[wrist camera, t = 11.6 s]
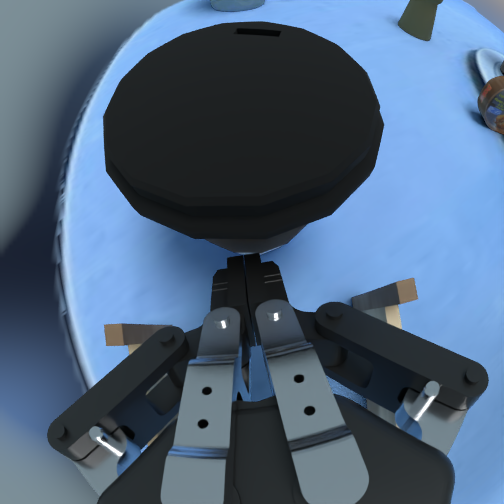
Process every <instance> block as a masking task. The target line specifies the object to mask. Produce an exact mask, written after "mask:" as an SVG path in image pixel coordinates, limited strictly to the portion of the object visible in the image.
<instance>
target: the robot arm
mask: <svg viewBox="0 0 504 504" xmlns="http://www.w3.org/2000/svg"><path fill="white" fill-rule="evenodd" d="M244 261H245V263H244ZM212 285H213V286H212V296H211V310H210V313H208V314H207V315H206V317H205V318H204V322H203V325H202V326H200V327H199V328H197V329H194V330H191V331H189V332H186V333H184V332H183V330H182V329H180V328H179V327H175V326H168V327H164V328H162V329H160V330H158V331H157V332H155V333H154V334H153V335H152V336H151V337H150V338H148V339H147V340H146V341H145V342H144V343H143V344H142V345H140V346H139V347H138V348H137V349H136V350H135V351H133V352H132V353H131V354H130V355H129V356H128V357H127V358H125V359H124V360H123V361H122V362H121V363H120V364H118V365H117V366H116V367H115V368H114V369H113V370H112V371H110V372H109V373H108V374H107V375H106V376H105V377H104V378H102V379H101V380H100V381H99V382H98V383H97V384H95V385H94V386H93V387H92V388H91V389H90V390H89V391H87V392H86V393H85V394H84V395H83V396H82V397H81V398H79V399H78V400H77V401H76V402H75V403H74V404H73V405H71V406H70V407H69V408H68V409H67V410H66V411H64V412H63V413H62V414H61V415H60V416H59V417H58V418H57V419H55V420H54V421H53V422H52V423H51V425H50V427H49V429H48V433H47V437H48V442H49V443H50V445H51V446H52V447H53V448H54V449H55V450H57V451H59V452H60V453H61V454H63V455H64V456H66V457H67V458H68V459H69V460H71V461H73V462H74V463H75V465H76V466H77V468H78V469H79V470H80V472H81V473H82V475H83V476H84V477H85V479H86V480H87V481H88V482H89V484H90V485H91V486H92V488H93V489H94V490H95V491H96V492H97V494H98V495H99V496H100V497H99V500H98V502H97V504H451V498H452V493H453V489H454V483H455V473H454V468H453V465H452V463H451V461H450V459H449V458H448V457H447V454H448V452H449V450H450V448H451V446H452V444H453V442H454V440H455V438H456V436H457V434H458V432H459V430H460V427H461V425H462V423H463V420H464V418H465V416H466V413H467V411H468V410H469V409H470V408H471V406H472V405H473V404H474V403H475V402H476V401H477V400H478V398H479V397H480V396H481V395H482V394H483V392H484V391H485V390H486V388H487V386H488V381H489V380H488V374H487V372H486V370H485V368H484V367H483V366H482V365H481V364H479V363H477V362H475V361H473V360H471V359H468V358H466V357H464V356H461V355H459V354H457V353H454V352H452V351H450V350H448V349H445V348H443V347H441V346H438V345H436V344H434V343H432V342H429V341H427V340H425V339H422V338H420V337H418V336H416V335H413V334H411V333H409V332H407V331H404V330H402V329H400V328H398V327H395V326H393V325H391V324H389V323H386V322H384V321H382V320H380V319H377V318H375V317H373V316H371V315H368V314H366V313H364V312H362V311H359V310H357V309H355V308H353V307H351V306H348V305H346V304H344V303H340V302H329V303H325V304H323V305H321V306H320V307H319V308H318V309H317V311H316V312H303V311H299V310H297V309H295V308H293V307H292V306H291V305H290V303H289V301H288V298H287V294H286V291H285V287H284V284H283V280H282V277H281V273H280V270H279V266H278V265H276V264H275V263H274V262H273V261H269V262H263V263H261V259H260V254H259V253H252V254H246V255H244V258H243V255H241V256H234V257H228V258H227V268H226V269H220V270H217V272H216V273H215V275H214V276H213V283H212ZM254 332H255V335H254ZM255 337H256V342H257V346H258V345H261V347H262V352H263V357H264V362H265V366H266V371H267V375H268V379H269V383H270V387H271V391H272V397H269V398H267V399H264V400H261V401H258V402H251V349H250V347H252V346H256V344H255ZM166 373H167V376H166V377H165V378H163V379H162V380H161V381H160V382H159V383H158V384H157V385H156V386H155V387H154V388H153V389H152V390H151V391H150V392H149V393H148V394H147V395H146V393H147V392H148V390H149V389H150V388H151V387H152V386H153V385H154V384H156V383H157V382H158V381H159V380H160V379H161V378H162V377H163V376H164V375H165V374H166ZM326 375H327V376H328V377H330V378H332V379H333V380H335V381H337V382H339V383H340V384H342V385H344V386H345V387H347V388H349V389H351V390H352V391H354V392H356V393H358V394H359V395H361V396H363V397H365V398H367V399H368V400H370V401H372V402H374V403H376V404H378V405H379V406H381V407H383V408H385V409H387V410H389V411H391V412H393V413H395V421H396V424H397V426H398V427H399V428H398V427H396V426H394V425H393V424H391V423H389V422H387V421H386V420H384V419H382V418H381V417H379V416H377V415H376V414H374V413H372V412H371V411H369V410H367V409H366V408H364V407H362V406H361V405H359V404H358V403H356V402H354V401H353V400H351V399H348V398H346V397H344V396H341V395H337V394H333V392H332V390H331V388H330V385H329V383H328V380H327V378H326ZM178 412H179V415H178V418H176V419H175V420H173V421H172V422H171V423H170V424H169V425H168V426H167V427H166V428H165V429H164V430H163V431H162V432H161V433H160V435H159V436H158V437H157V438H156V439H155V440H154V441H153V442H152V443H151V444H150V445H149V446H148V447H147V448H146V449H145V450H144V451H143V452H142V453H141V449H142V448H143V447H144V446H145V445H146V444H147V443H148V442H149V441H150V440H151V439H152V438H153V437H154V436H155V435H157V434H158V433H159V432H160V431H161V430H162V429H163V428H164V427H165V426H166V425H167V424H168V422H169V421H170V420H171V419H172V418H173V417H174V416H175V415H176V414H177V413H178Z"/></svg>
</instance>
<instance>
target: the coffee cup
mask: <svg viewBox="0 0 504 504" xmlns="http://www.w3.org/2000/svg"><path fill="white" fill-rule="evenodd" d="M379 110H380V105H379V102H378V99H377V96H376V94H375V91H374V89H373V86H372V84H371V81H370V79H369V76H368V74H367V72H366V71H365V70H364V69H363V68H362V67H361V66H360V65H359V64H358V63H357V62H356V61H355V60H354V59H353V58H352V57H351V56H349V55H348V54H347V53H346V52H345V51H344V50H343V49H342V48H341V47H340V46H338V45H337V44H335V43H333V42H331V41H329V40H327V39H325V38H323V37H320V36H318V35H316V34H314V33H312V32H309V31H307V30H305V29H302V28H297V27H292V26H287V25H282V24H276V23H270V22H263V21H260V22H235V23H222V24H218V25H214V26H210V27H206V28H202V29H199V30H195V31H192V32H189V33H186V34H183V35H181V36H179V37H177V38H175V39H173V40H171V41H169V42H167V43H165V44H164V45H162V46H160V47H158V48H157V49H155V50H153V51H151V52H150V53H148V54H147V55H146V56H145V57H144V58H143V59H142V60H140V61H139V62H138V63H137V64H136V65H135V66H134V67H133V68H132V69H131V70H130V71H129V72H128V73H127V74H126V75H125V76H124V77H123V78H122V79H121V81H120V82H119V84H118V86H117V88H116V90H115V92H114V94H113V96H112V98H111V100H110V103H109V105H108V107H107V109H106V111H105V114H104V116H103V126H104V151H105V165H106V172H107V173H108V175H109V176H110V177H111V179H112V180H113V182H114V183H115V184H116V186H117V187H118V188H119V190H120V191H121V192H122V194H123V195H124V196H125V198H126V199H127V200H128V202H129V203H130V204H131V206H132V207H133V208H134V209H135V210H136V211H137V212H138V213H139V214H140V215H141V216H144V217H146V218H148V219H150V220H153V221H155V222H157V223H160V224H162V225H164V226H166V227H169V228H171V229H173V230H176V231H178V232H180V233H182V234H185V235H187V236H189V237H192V238H194V239H206V240H207V241H209V242H211V243H213V244H215V245H218V246H220V247H222V248H225V249H227V250H229V251H232V252H234V253H239V254H252V253H259V254H260V255H261V254H264V253H267V252H269V251H272V250H274V249H277V248H280V247H281V246H282V245H284V244H287V243H288V242H289V241H290V240H291V239H292V238H293V237H294V236H296V235H297V234H298V233H299V232H300V231H301V230H302V229H303V228H304V227H305V226H306V225H307V224H308V223H311V222H314V221H316V220H319V219H322V218H324V217H327V216H330V215H332V214H333V213H334V212H335V211H336V210H337V209H338V208H339V207H340V206H341V205H342V204H343V203H344V201H345V200H346V199H347V198H348V197H349V196H350V195H351V194H352V193H353V192H354V191H355V190H356V189H357V188H358V187H359V186H360V185H361V184H362V183H363V182H364V181H365V180H366V179H367V178H368V177H369V176H370V174H371V172H372V171H373V169H374V167H375V164H376V159H377V155H378V151H379V147H380V142H381V137H382V133H383V128H384V123H383V120H382V117H381V114H380V111H379Z"/></svg>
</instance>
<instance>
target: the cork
mask: <svg viewBox="0 0 504 504" xmlns="http://www.w3.org/2000/svg"><path fill="white" fill-rule="evenodd" d="M442 1H443V0H410V1H409V3H408V5H407V7H406V9H405V11H404V13H403V15H402V16H401V18H400V20H399V22H398V25H399V27H400V28H401V29H403V30H404V31H405V32H407V33H408V34H410V35H412V36H414V37H416V38H419V39H421V40H425V41H429V40H430V39H431V34H432V30H433V25H434V21H435V16H436V10H437V5H438V4H440V3H442Z"/></svg>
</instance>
